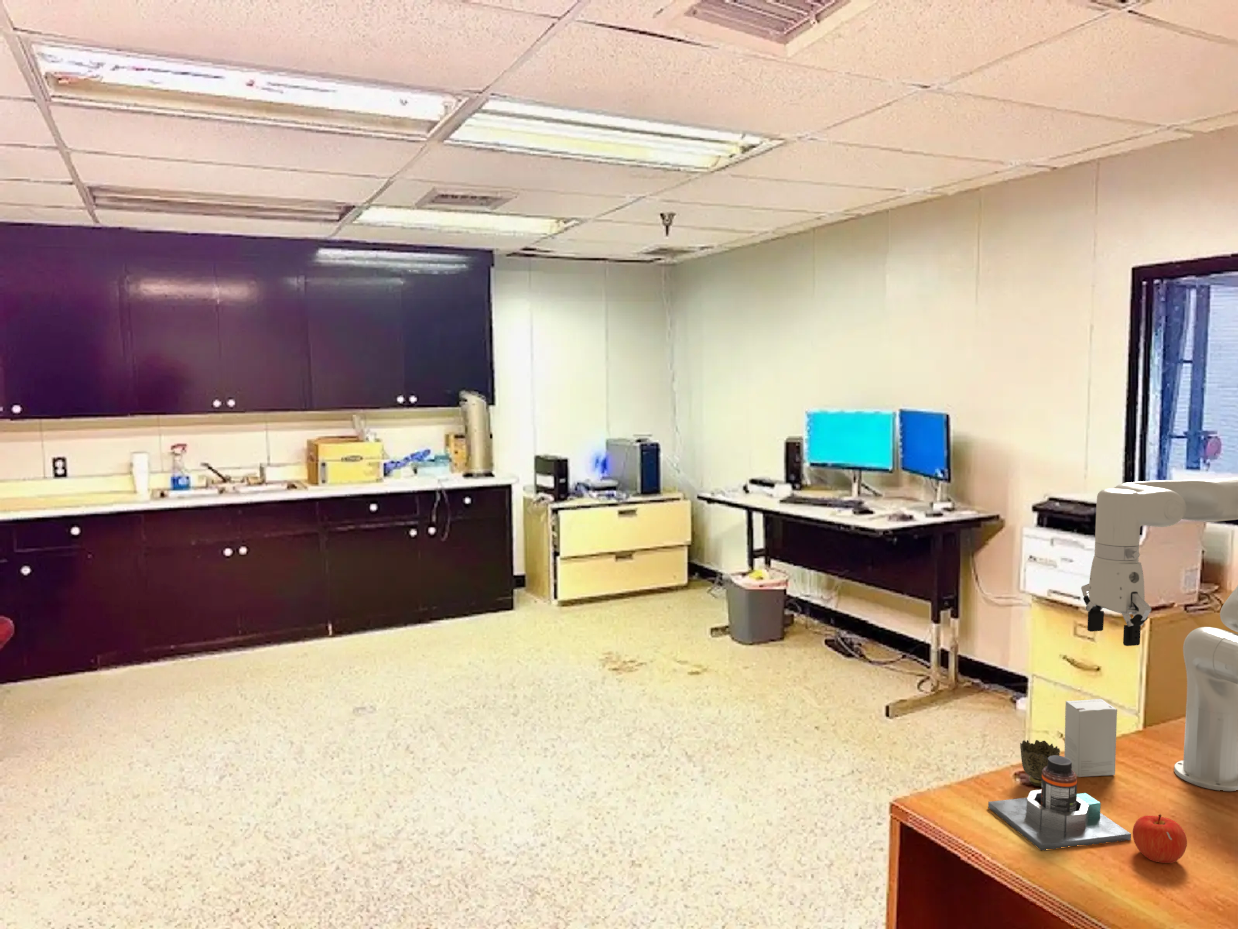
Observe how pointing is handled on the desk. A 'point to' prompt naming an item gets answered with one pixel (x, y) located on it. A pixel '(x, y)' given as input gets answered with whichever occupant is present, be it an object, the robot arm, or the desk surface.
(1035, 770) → the cup
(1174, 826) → the apple
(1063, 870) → the desk surface
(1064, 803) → the supplement bottle
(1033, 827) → the hub plate
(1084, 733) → the skincare box
